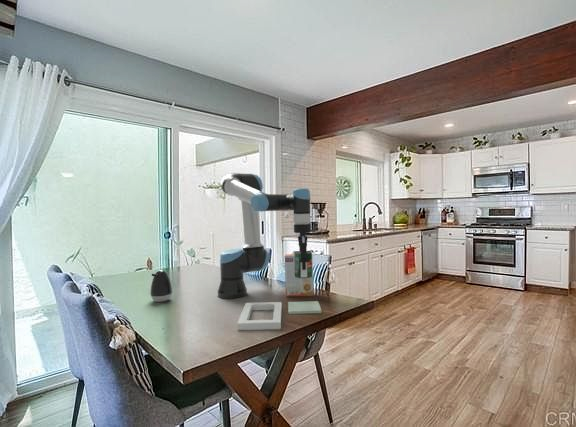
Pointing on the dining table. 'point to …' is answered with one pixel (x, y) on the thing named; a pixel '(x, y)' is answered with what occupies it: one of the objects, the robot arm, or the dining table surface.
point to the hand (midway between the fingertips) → (303, 275)
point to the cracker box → (296, 280)
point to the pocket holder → (260, 324)
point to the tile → (304, 307)
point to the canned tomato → (298, 264)
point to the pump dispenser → (161, 287)
